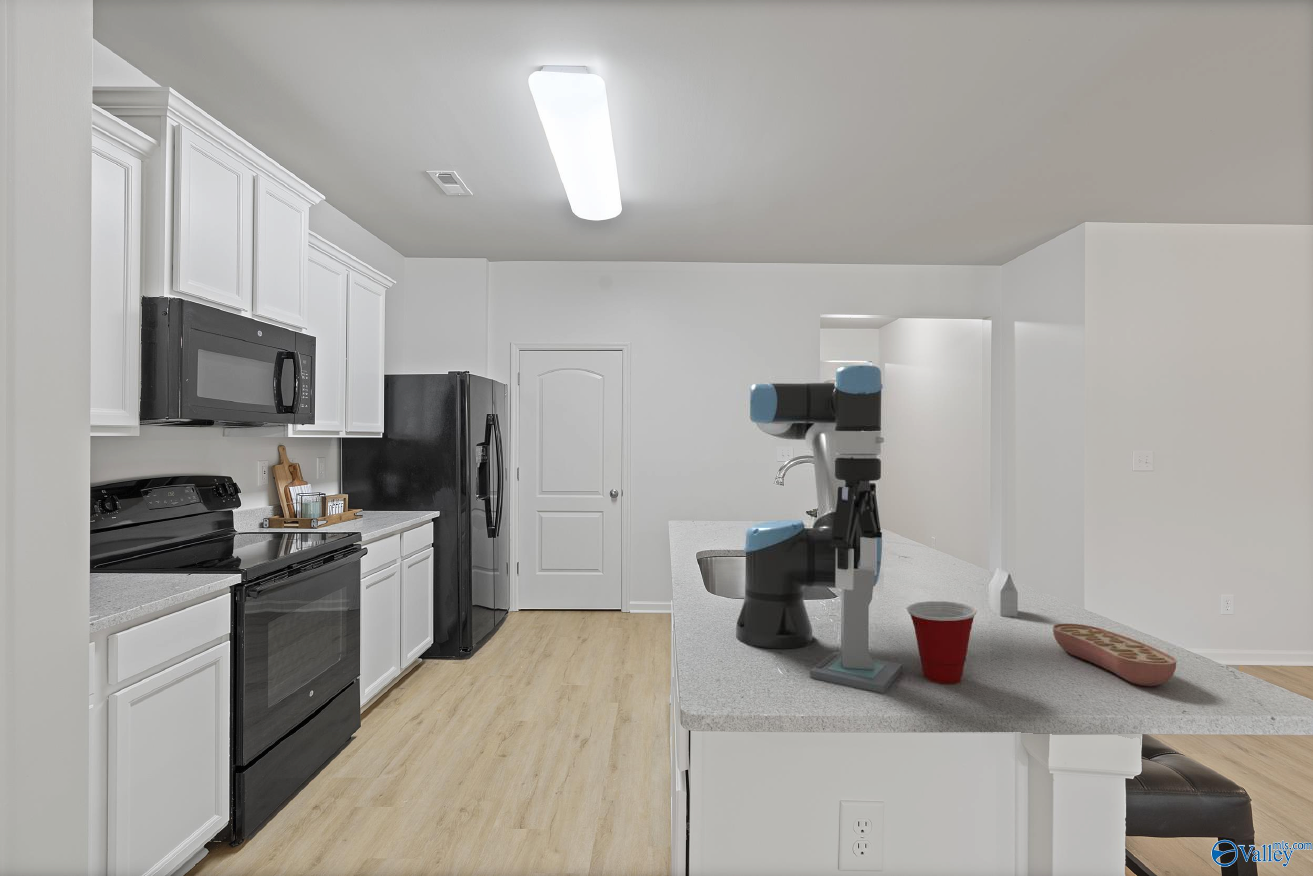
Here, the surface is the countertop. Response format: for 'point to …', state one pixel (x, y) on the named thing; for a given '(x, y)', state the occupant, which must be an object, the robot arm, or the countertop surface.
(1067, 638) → the anatomical model
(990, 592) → the white house shaped block
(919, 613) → the plastic cup
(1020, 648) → the countertop surface
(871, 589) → the vintage mobile phone
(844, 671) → the pad
